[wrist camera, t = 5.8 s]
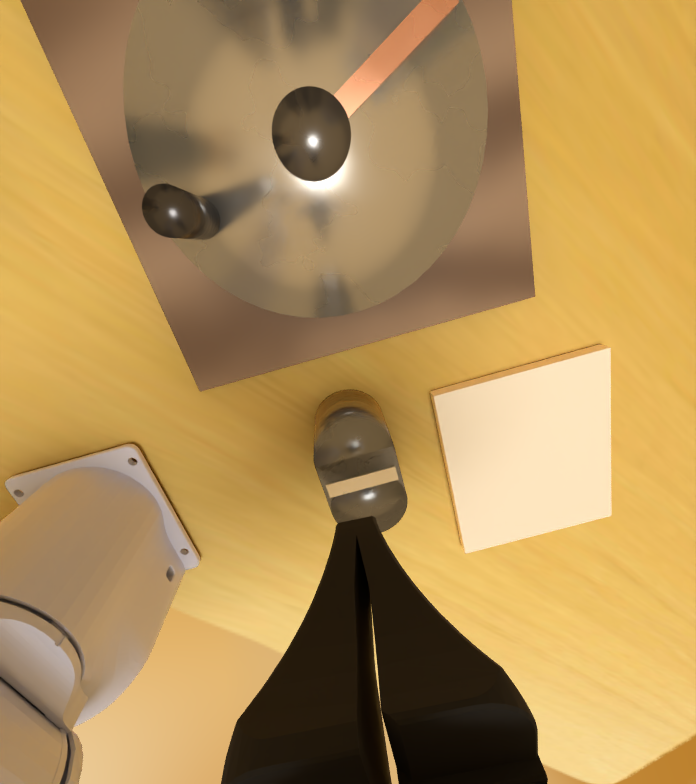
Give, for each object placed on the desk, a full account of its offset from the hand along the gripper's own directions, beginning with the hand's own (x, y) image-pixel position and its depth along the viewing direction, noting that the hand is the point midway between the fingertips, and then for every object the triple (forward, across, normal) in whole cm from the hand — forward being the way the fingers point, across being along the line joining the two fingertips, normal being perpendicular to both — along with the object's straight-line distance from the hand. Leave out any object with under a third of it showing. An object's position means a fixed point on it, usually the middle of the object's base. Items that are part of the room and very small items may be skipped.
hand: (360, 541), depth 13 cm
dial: (+8, -1, -14) cm, 16 cm away
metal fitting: (+10, 0, +1) cm, 10 cm away
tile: (+9, -11, +5) cm, 15 cm away
